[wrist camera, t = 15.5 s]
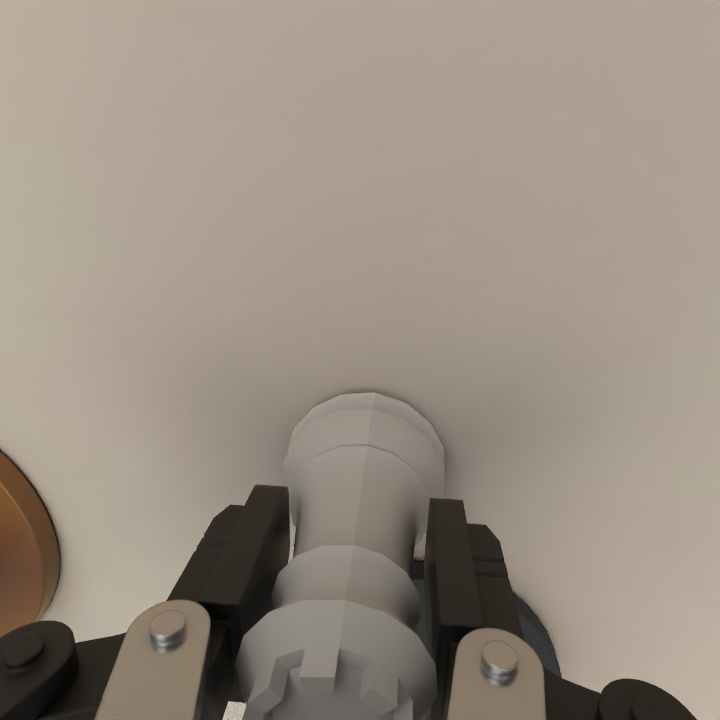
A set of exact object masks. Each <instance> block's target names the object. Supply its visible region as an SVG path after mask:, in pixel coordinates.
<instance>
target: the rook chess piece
mask: <svg viewBox="0 0 720 720" xmlns="http://www.w3.org/2000/svg"><path fill="white" fill-rule="evenodd" d="M444 478H445V462H444V448H443V446H442V444H441V442H440V440H439V438H438V436H437V435H436V433H435V431H434V429H433V427H432V425H431V423H430V422H429V421H428V420H426V419H425V418H424V417H423V416H422V415H420V414H419V413H418V412H417V411H416V410H414V409H413V408H412V407H411V406H409V405H408V404H407V403H406V402H402V401H399V400H396V399H393V398H390V397H387V396H384V395H381V394H378V393H375V392H374V393H353V394H341V395H339V396H337V397H334V398H332V399H330V400H328V401H325V402H323V403H321V404H319V405H317V406H314V407H313V408H312V409H311V410H310V411H309V413H308V414H307V415H306V416H305V417H304V418H303V419H302V420H301V421H300V422H299V424H298V425H297V426H296V427H295V428H294V431H293V434H292V437H291V440H290V444H289V447H288V450H287V454H286V459H285V462H284V466H283V469H282V481H283V486H284V487H288V490H289V511H290V513H291V515H292V521H293V523H294V525H295V526H296V535H295V545H294V555H293V560H292V561H290V562H289V563H288V564H287V565H286V566H285V567H284V568H283V569H282V570H281V571H280V572H279V573H278V576H277V579H276V582H275V585H274V588H273V591H272V595H271V597H272V602H273V608H274V610H273V611H271V612H269V613H267V614H266V615H265V616H264V617H263V618H262V619H261V620H260V621H259V622H258V623H257V624H255V625H254V626H253V627H252V628H251V629H250V630H249V631H248V632H247V633H246V634H245V635H244V636H243V639H242V643H241V646H240V649H239V652H238V655H237V659H236V662H235V667H236V671H237V676H238V680H239V685H240V689H241V693H242V696H243V698H244V700H245V702H246V704H247V706H246V709H245V712H244V716H243V719H242V720H425V719H426V717H427V715H428V713H429V711H430V709H431V707H432V705H433V703H434V702H435V700H436V698H437V696H438V693H437V674H436V664H435V663H434V661H433V660H432V658H431V656H430V655H429V653H428V651H427V650H426V648H425V646H424V645H423V643H422V641H421V640H420V638H419V636H418V635H417V634H416V633H415V632H414V631H415V629H416V627H417V625H418V623H419V620H420V618H421V613H420V597H419V593H418V591H417V589H416V588H415V586H414V584H413V583H412V581H411V579H410V578H409V576H410V570H411V565H412V559H413V553H414V548H415V545H416V544H417V543H418V542H419V541H420V540H421V538H422V536H423V534H424V533H425V532H426V531H427V523H428V512H429V502H430V498H440V499H443V498H444V495H445V487H444Z"/></svg>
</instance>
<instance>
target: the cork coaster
mask: <svg viewBox="0 0 720 720" xmlns="http://www.w3.org/2000/svg"><path fill="white" fill-rule="evenodd" d="M58 576H59V552H58V544H57V540H56V536H55V533H54V529H53V526H52V523H51V521H50V519H49V516H48V514H47V512H46V509H45V508H44V506H43V504H42V502H41V501H40V499H39V497H38V495H37V494H36V492H35V491H34V489H33V488H32V486H31V485H30V484H29V482H28V481H27V480H26V478H25V477H24V475H23V474H22V473H21V472H20V471H19V470H18V469H17V468H16V467H15V465H14V464H13V463H12V462H11V461H10V460H9V459H8V458H7V457H6V456H5V455H4V454H3V453H1V452H0V638H1V637H2V636H4V635H5V634H7V633H9V632H11V631H12V630H14V629H16V628H19V627H21V626H24V625H27V624H30V623H34V622H37V621H38V619H39V618H40V617H41V616H42V615H43V613H44V612H45V610H46V609H47V607H48V605H49V604H50V602H51V600H52V597H53V595H54V592H55V590H56V586H57V581H58Z"/></svg>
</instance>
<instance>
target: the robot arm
mask: <svg viewBox="0 0 720 720" xmlns="http://www.w3.org/2000/svg"><path fill="white" fill-rule="evenodd" d="M289 550H290V518H289V490H288V487H284V486H270V485H257V484H256V485H255V486H254V488H253V490H252V492H251V494H250V496H249V498H248V500H247V502H246V504H245V506H242V505H229V506H228V507H227V508H226V509H224V510H223V511H222V512H221V513H219V514H218V515H217V516H215V517H214V518H213V520H212V522H211V523H210V525H209V527H208V529H207V530H206V532H205V534H204V537H203V538H202V539H201V541H200V543H199V545H198V546H197V550H196V551H195V552H194V553H193V555H192V557H191V559H190V560H189V562H188V564H187V566H186V567H185V569H184V571H183V573H182V574H181V576H180V578H179V580H178V581H177V583H176V585H175V587H174V589H173V590H172V592H171V594H170V596H169V597H168V599H167V601H166V602H162V603H160V604H157V605H155V606H153V607H151V608H149V609H148V610H146V611H144V612H143V613H142V614H141V615H139V616H138V617H137V618H136V619H135V620H134V621H133V623H132V624H131V625H130V627H129V628H128V631H127V632H126V633H123V634H120V635H115V636H111V637H105V638H100V639H94V640H89V641H83V642H78V643H75V639H74V635H73V632H72V630H71V629H70V628H69V627H68V626H67V625H65V624H63V623H61V622H57V621H39V622H34V623H30V624H27V625H24V626H21V627H19V628H16V629H14V630H12V631H11V632H9V633H7V634H5V635H4V636H2V637H1V638H0V720H222V718H223V715H224V712H225V710H226V707H227V704H228V701H233V702H243V703H245V700H244V698H243V696H242V693H241V689H240V685H239V680H238V676H237V671H236V667H235V662H236V659H237V655H238V652H239V649H240V646H241V643H242V639H243V636H244V635H245V634H246V633H247V632H248V631H249V630H250V629H251V628H252V627H253V626H254V625H255V624H257V623H258V622H259V621H260V620H261V619H262V618H263V617H264V616H265V615H266V614H267V613H269V612H271V611H273V610H274V608H273V602H272V597H271V595H272V591H273V588H274V585H275V582H276V579H277V576H278V573H279V572H280V571H281V570H282V569H283V568H284V567H285V566H286V565H287V564H288V559H289ZM424 592H425V617H426V642H427V651H428V653H429V655H430V656H431V658H432V660H433V661H434V663H435V664H436V674H437V693H438V696H437V698H436V700H435V702H434V703H433V705H432V707H431V709H430V711H429V718H430V720H697V719H696V718H695V717H694V716H693V715H692V714H691V713H690V712H689V711H688V709H687V708H686V707H685V706H683V705H682V704H681V703H680V702H679V701H678V700H677V699H676V698H674V697H673V696H672V695H670V694H669V693H667V692H666V691H664V690H662V689H661V688H659V687H657V686H655V685H652V684H650V683H647V682H644V681H640V680H636V679H619V680H615V681H613V682H610V683H609V684H608V685H606V686H605V688H604V689H603V690H602V693H601V694H600V693H598V692H595V691H592V690H590V689H587V688H585V687H582V686H579V685H577V684H574V683H572V682H569V681H567V680H565V679H562V678H561V677H559V676H557V675H555V674H554V673H552V672H551V671H549V670H548V669H547V668H545V667H544V666H543V665H542V664H541V661H540V659H539V657H538V656H537V654H536V653H535V651H534V650H533V649H532V648H531V647H530V646H529V645H528V644H527V643H526V642H525V640H524V637H523V633H522V629H521V625H520V621H519V617H518V613H517V609H516V605H515V601H514V597H513V593H512V589H511V585H510V581H509V578H508V573H507V569H506V565H505V563H504V557H503V553H502V549H501V545H500V541H499V540H498V539H497V538H496V536H495V535H494V534H493V533H492V532H491V530H490V529H489V528H488V527H487V526H486V525H481V524H468V523H467V522H466V516H465V510H464V504H463V501H462V500H453V499H440V498H430V502H429V512H428V523H427V535H426V546H425V560H424Z"/></svg>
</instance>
